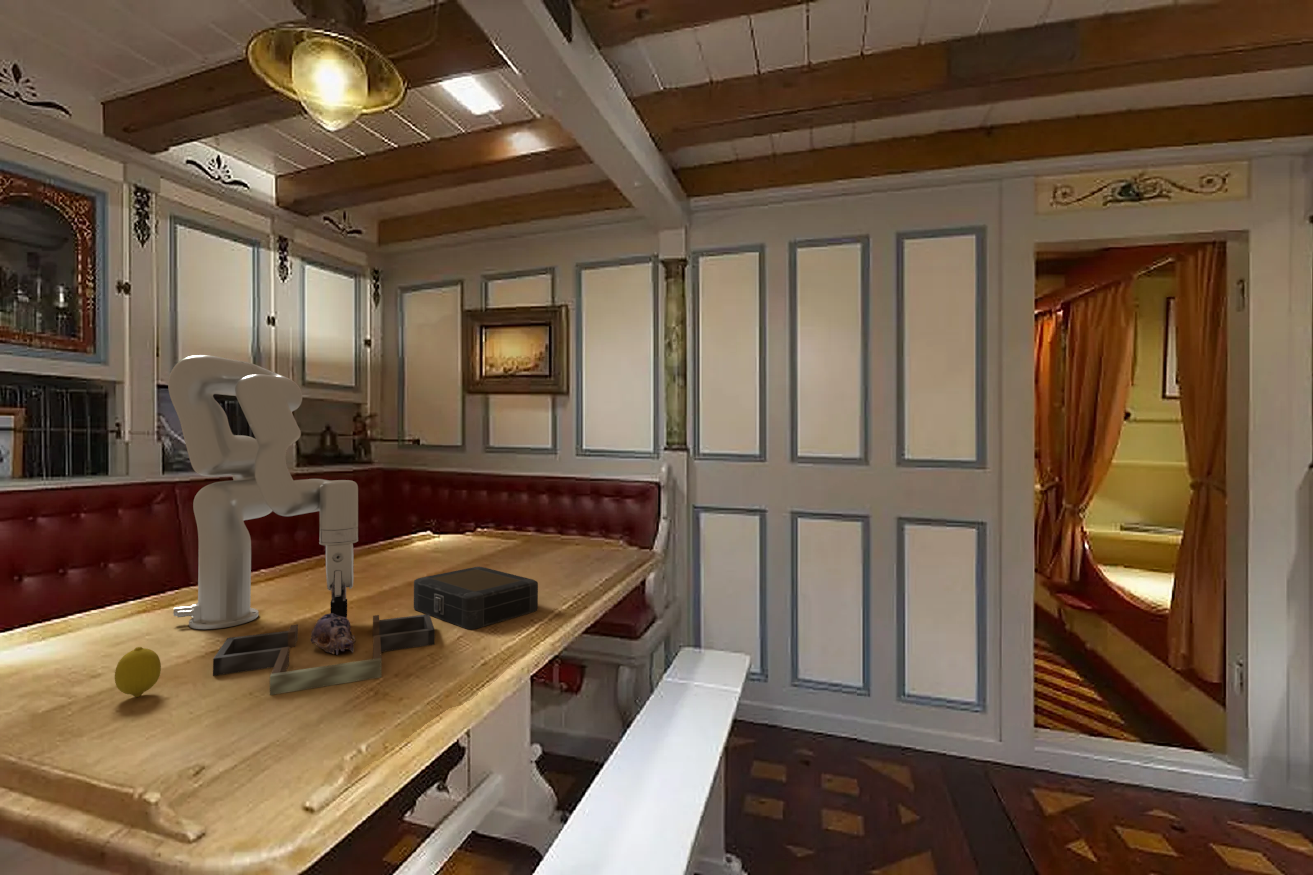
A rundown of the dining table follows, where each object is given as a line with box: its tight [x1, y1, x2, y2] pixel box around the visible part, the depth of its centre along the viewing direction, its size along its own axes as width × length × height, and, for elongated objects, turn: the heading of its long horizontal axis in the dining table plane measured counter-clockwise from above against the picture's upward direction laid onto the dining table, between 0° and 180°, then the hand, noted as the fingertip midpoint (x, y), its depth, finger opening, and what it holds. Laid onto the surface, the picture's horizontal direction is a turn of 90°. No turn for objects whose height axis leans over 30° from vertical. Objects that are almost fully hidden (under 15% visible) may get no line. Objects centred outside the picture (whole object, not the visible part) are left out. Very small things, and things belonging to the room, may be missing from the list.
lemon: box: [114, 646, 162, 698], centre depth 92 cm, size 6×6×8 cm
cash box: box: [413, 566, 539, 631], centre depth 140 cm, size 25×20×8 cm
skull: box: [310, 612, 356, 656], centre depth 114 cm, size 12×8×6 cm, turn 40°
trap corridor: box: [212, 613, 436, 696], centre depth 110 cm, size 36×28×3 cm
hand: (338, 618), depth 128 cm, fingers closed
